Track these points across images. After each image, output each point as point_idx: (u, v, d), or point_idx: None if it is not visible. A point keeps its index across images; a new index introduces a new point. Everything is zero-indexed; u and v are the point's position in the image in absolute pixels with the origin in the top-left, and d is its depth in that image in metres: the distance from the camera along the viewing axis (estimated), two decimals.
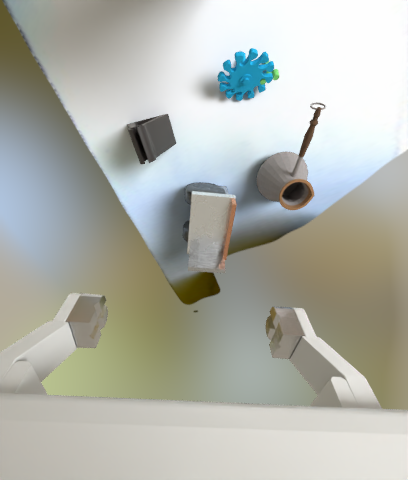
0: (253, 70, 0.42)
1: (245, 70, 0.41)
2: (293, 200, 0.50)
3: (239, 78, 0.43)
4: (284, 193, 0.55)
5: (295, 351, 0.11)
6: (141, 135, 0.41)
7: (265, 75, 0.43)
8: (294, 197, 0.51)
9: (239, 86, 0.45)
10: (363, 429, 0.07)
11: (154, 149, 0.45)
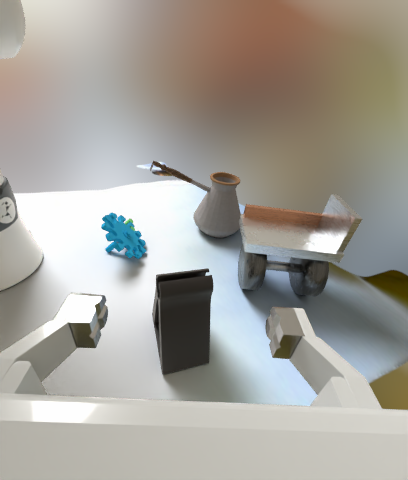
0: (120, 225, 0.45)
1: (118, 229, 0.44)
2: None
3: (124, 236, 0.44)
4: None
5: (295, 351, 0.11)
6: (169, 273, 0.27)
7: (127, 225, 0.48)
8: None
9: (131, 241, 0.45)
10: (363, 429, 0.07)
11: None
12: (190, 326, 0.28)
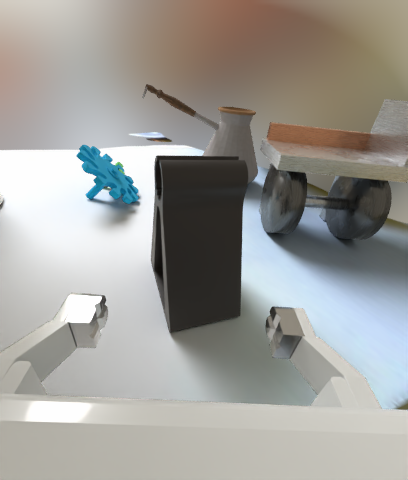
0: (104, 162, 0.35)
1: (101, 164, 0.33)
2: None
3: (109, 173, 0.33)
4: None
5: (295, 351, 0.11)
6: None
7: None
8: None
9: (119, 182, 0.34)
10: (363, 429, 0.07)
11: None
12: (212, 250, 0.18)
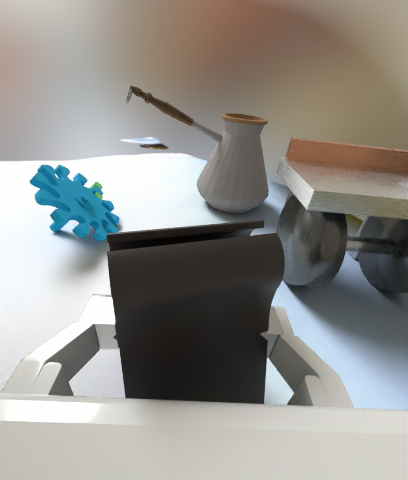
0: (73, 186, 0.27)
1: (67, 189, 0.26)
2: None
3: (77, 202, 0.25)
4: None
5: (274, 350, 0.11)
6: None
7: None
8: None
9: (91, 212, 0.27)
10: (363, 429, 0.07)
11: None
12: (215, 386, 0.10)
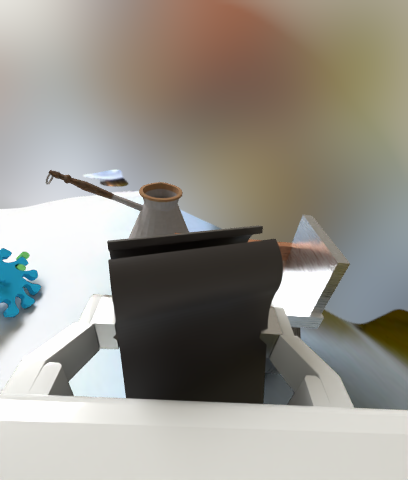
0: None
1: None
2: None
3: None
4: None
5: (274, 350, 0.11)
6: (146, 237, 0.09)
7: None
8: None
9: (4, 290, 0.30)
10: (363, 429, 0.07)
11: None
12: (215, 389, 0.10)
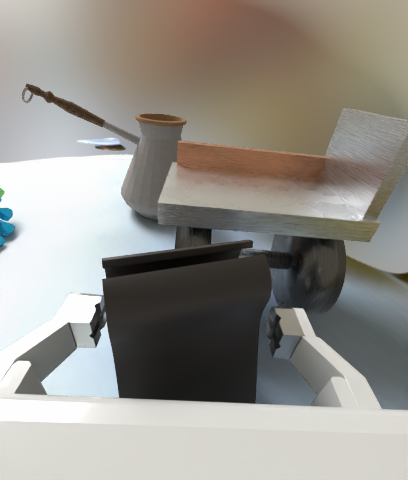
0: None
1: None
2: None
3: None
4: None
5: (295, 351, 0.11)
6: (140, 254, 0.09)
7: None
8: None
9: None
10: (363, 429, 0.07)
11: None
12: (207, 398, 0.10)
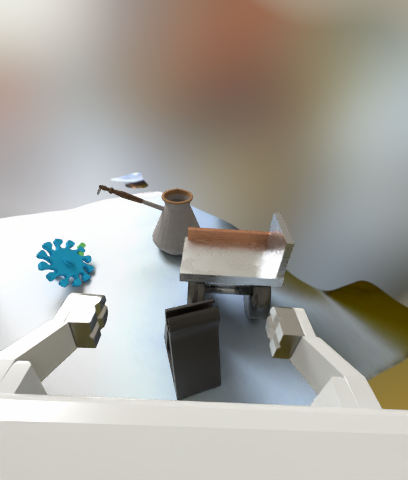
0: (63, 252, 0.45)
1: (58, 256, 0.44)
2: None
3: (63, 264, 0.44)
4: None
5: (295, 351, 0.11)
6: (176, 307, 0.28)
7: (76, 250, 0.48)
8: None
9: (72, 268, 0.44)
10: (363, 429, 0.07)
11: None
12: (200, 354, 0.30)
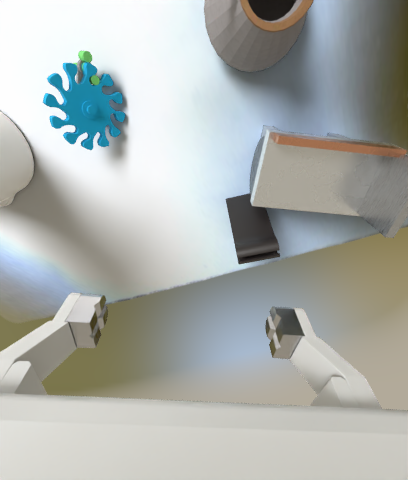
0: (75, 98, 0.29)
1: (75, 111, 0.30)
2: None
3: (88, 119, 0.31)
4: None
5: (295, 351, 0.11)
6: (246, 254, 0.34)
7: (85, 76, 0.29)
8: None
9: (100, 117, 0.32)
10: (363, 429, 0.07)
11: (263, 234, 0.36)
12: None
